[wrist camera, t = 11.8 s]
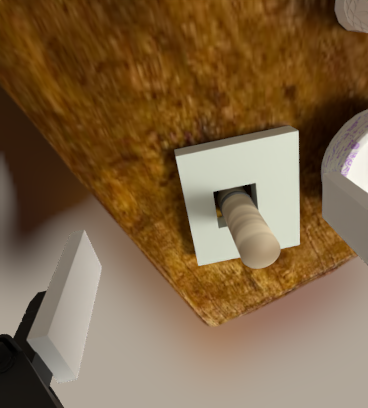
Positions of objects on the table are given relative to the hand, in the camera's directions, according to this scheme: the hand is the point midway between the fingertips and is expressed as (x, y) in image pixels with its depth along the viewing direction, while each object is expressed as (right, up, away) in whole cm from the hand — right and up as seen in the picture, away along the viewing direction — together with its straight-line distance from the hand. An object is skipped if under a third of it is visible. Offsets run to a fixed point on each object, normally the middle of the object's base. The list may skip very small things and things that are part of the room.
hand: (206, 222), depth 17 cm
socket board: (+7, +2, +29) cm, 30 cm away
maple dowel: (+6, +2, +29) cm, 29 cm away
